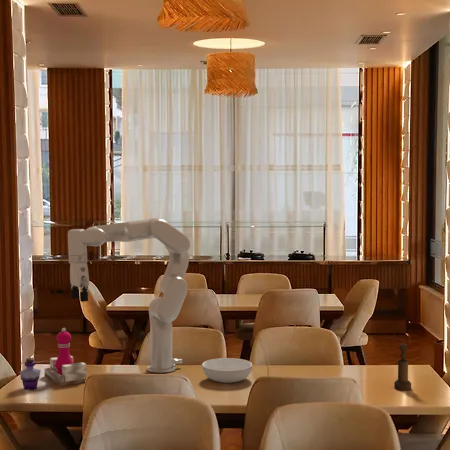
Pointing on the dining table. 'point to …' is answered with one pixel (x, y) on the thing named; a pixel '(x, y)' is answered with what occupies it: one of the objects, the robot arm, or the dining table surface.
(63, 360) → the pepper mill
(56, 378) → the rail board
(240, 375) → the serving bowl
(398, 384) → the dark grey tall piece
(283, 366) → the dining table surface
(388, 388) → the dining table surface
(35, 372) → the potion bottle
